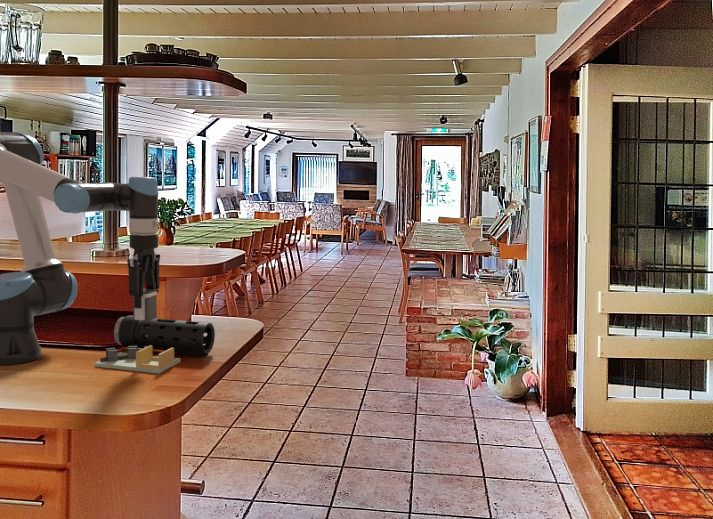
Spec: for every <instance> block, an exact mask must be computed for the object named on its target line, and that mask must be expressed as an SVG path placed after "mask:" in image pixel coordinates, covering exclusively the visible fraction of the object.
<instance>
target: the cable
mask: <svg viewBox="0 0 713 519" xmlns="http://www.w3.org/2000/svg"><path fill="white" fill-rule="evenodd" d="M121 359H128V355H120V356H118V360H121ZM99 361H101V362H104V361H108V357H106V356H105V357H104V356H103V357H100V358H99Z"/></svg>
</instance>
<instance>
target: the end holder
mask: <svg viewBox="0 0 713 519" xmlns="http://www.w3.org/2000/svg"><path fill="white" fill-rule="evenodd" d="M153 356H154V355H153V350H152V345H150V346H148V347H146V348H144V349H141V350H139V351H138V350H137V352H136V367H145V368H154V369H162V368H163V367H165V366H167V365H169V364H171V363H173V362H174V358H175V353H174V348H170V349H168V350H166V351H162V352H160V353H158V355H157V356H158V357H153ZM151 360H156V361H158V365H150V364H145V363H147V362H149V361H151Z"/></svg>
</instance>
